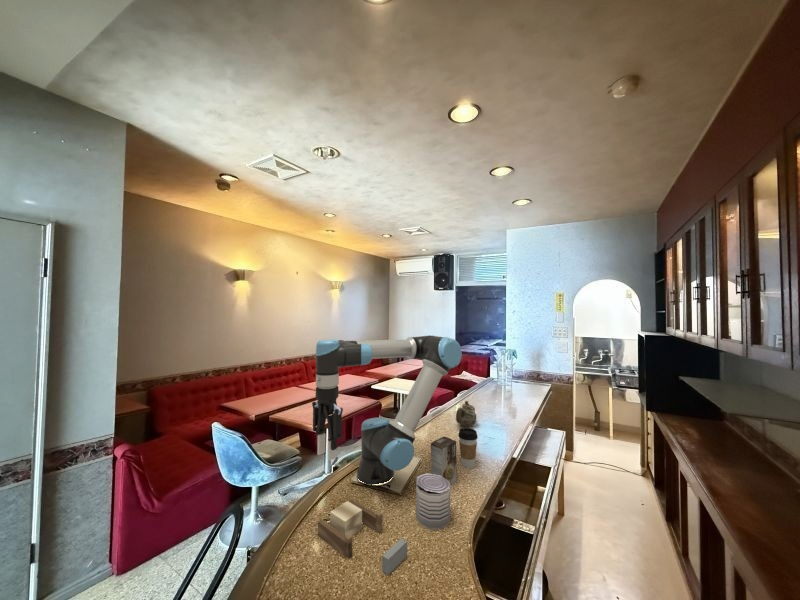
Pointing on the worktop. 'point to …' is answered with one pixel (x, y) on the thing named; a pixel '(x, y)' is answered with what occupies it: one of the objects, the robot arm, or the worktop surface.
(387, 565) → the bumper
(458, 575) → the worktop surface
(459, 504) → the worktop surface
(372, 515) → the chute
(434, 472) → the coffee box
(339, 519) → the block
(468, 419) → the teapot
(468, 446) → the coffee cup
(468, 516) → the worktop surface
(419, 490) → the can
